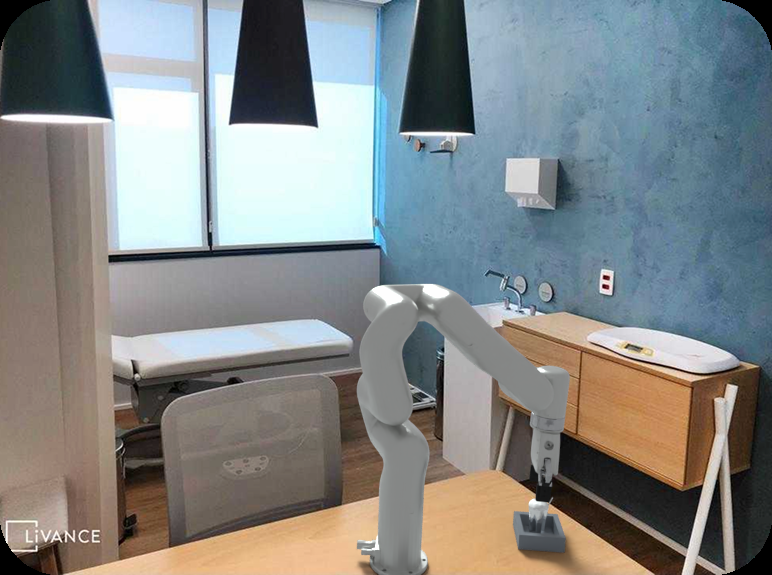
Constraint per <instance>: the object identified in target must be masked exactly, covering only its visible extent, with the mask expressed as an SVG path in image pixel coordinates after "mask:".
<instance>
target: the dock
mask: <svg viewBox="0 0 772 575" xmlns="http://www.w3.org/2000/svg"><path fill="white" fill-rule="evenodd" d="M512 519H513V520H512V526H513V527H512V528H513V531H514V536H515V540H516V545H517V549H518V550H526V551H537V552H538V551H539V552H552V553H553V552H554V553H563V554H564V553H565V551H566V550H565V549H566V539H567V537H566V534H565V532H564V529H563V526H562V524H561V520H560V518H559V514H557V513H547V518H546V522H545V528H544V534H541V533H529V511H518V510H514V511H513V518H512Z"/></svg>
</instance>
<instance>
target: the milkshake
mask: <svg viewBox="0 0 772 575" xmlns="http://www.w3.org/2000/svg"><path fill="white" fill-rule="evenodd" d="M553 499H554V497H553V496H552V497H551V498H550V502H539V501H536V500H535V498H532V499H530V500H529V502H528V512H529V533H541V534H544V528H545V522H546V518H547V513H548V512H549V508H550V504H551V502H552V501H553Z"/></svg>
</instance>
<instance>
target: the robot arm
mask: <svg viewBox="0 0 772 575" xmlns="http://www.w3.org/2000/svg"><path fill="white" fill-rule="evenodd" d="M362 307H363V312H364V315H365V317H366V318H367V319H368V321H369V322H371V323H370V324H369V326H368V327H367V328H366V331H365V332H364V334H363V336H362V338H361V341H360V344H359V352H358V354H359V360H360V361H359V362H360V367H361V372H362V374H361V375H360V377H359V379H358V382H357V384H356V385H357V386H356V396H357V401H358V404H359V408H360V412H361V415H362V416H361V417H362V418H363V422H364V425H365V429H366V432H367V436H368V438H369V440H370V442H371V444H372V445H373V447H374V448H375V450H376V451H377V452H378V454H379V455H380V457H381V458H382V461H383V466H382V467H383V468H382V470H381V475H380V480H379V488H378V513H377V514H378V519H377V535H376V539H372V540H365V539H364V540H363V539H357V541H356V550H360V556H369V566H370V567H371V569H372V570H373V571H374V572H375V573H376V574H378V575H422V574H423V573H425V571H426V570H427V568H428V561H429V559H428V555H427V554H426V553H425V551H423V549H422V543H423V542H422V540H423V523H424V522H423V519H424V501H425V498H424V497H425V496H424V495H425V481H426V475H427V470H428V466H429V462H430V453H431V452H430V447H429V443H428V441H427V439H426V437H425V435H424V434H423V433H422V431H421V430H420V429H419V428H418V427H417V426H416V425H415V424H414V423H413V422H412V421H410V418H411V415H412V413H413V408H414V399H413V395H412V390H411V389H410V385H409V381H408V377H407V372H406V368H405V365H404V359H403V348H404V345H405V343H406V341H407V340H408V338H409V337H410V336H411V335H412V333H413V332H414V330H416V327H417V326H418V322H425V323H428V324H429V325H431V326H433V327H434V329H436V330H437V331H438V333H439V334H440V335H442V336H443V337H444V338H445V339H446V340H447V341H449V342H450V344H451V345H452V346H453V347H454V348H456V349H457V350H458V351H459V352H460V353H461V354H462V356H464V358H465V359H467V361H469V362H470V363H472V365H474V366H475V367H477V368H478V369H479V370H481V371H482V372H484V373H485V374H487V375H488V376H490V377H492V378H493V379H495V380H496V381H497V383H498V387H499V389H500V390H501V392H503V394H505V395H506V396H507V397H508V398H510V399H512V400H513V401H514V402H516V403H517V404H519V405H521V406H522V407H524V408H525V409H526V410H529V411H531V413H530V419H529V420H530V421H529V426H530V427H531V428H532V437H531V448H530V459H531V460H530V461H531V463H530V466H529V467H530V468H529V476H528V480H529V481H530V482H535V483H536V489H535V498H534V499H535V500H536V501H539V502H547V503H549V502H550V500H551V499H552V497H551V496H552V488H553V475H554V476H557V475H558V473H559V462H560V450H561V449H560V447H561V433H562V432H564V430H565V422H566V413H567V404H568V396H569V388H570V379H571V376H570V373H569V371H567V369H565V368H562V367H560V366H556V365H542V366H535V364H534V363H532V362H531V361H530V360H529V359H528V358H526V357H525V355H523V354H522V353H521V352H520V351H518V350H517V349H516V348H515V347H514V346H513V345H512V344H511V343H510V342H509V341H508V340H507V339H506V338H505V337H503V336H502V335H501V334H500V333H499V332H498V331H496V329H495V328H494V327H493V326H492V325H491V324H490V323H489V322H487V320H486V319H485V318H484V317H483V316H482V315H481V314H480V313H479V312H478V311H477V310H476V309H475V308H474V307H473V306H472V305H471V303H469V302H468V301H467V300H466V299H465V298H464V297H463V296H462V295H460V294H459V293H458V292H456V291H454V290H452V289H450V288H447V287H446V286H443V285H441V284H437V283H436V284H435V283H417V284H415V283H413V284H411V283H410V284H383V285H382V284H381V285H379V286H375V287H374V288H372V289H371V290H370V291H368V292H367V294H366V295H365V297H364V300H363V303H362ZM550 503H551V502H550Z"/></svg>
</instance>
